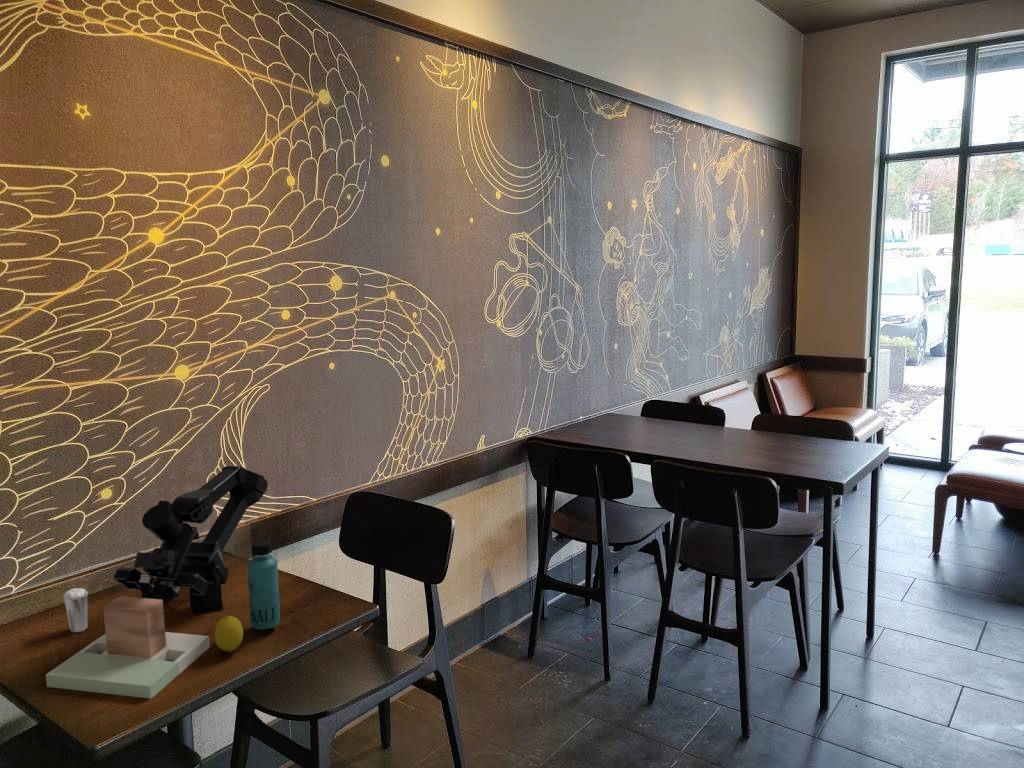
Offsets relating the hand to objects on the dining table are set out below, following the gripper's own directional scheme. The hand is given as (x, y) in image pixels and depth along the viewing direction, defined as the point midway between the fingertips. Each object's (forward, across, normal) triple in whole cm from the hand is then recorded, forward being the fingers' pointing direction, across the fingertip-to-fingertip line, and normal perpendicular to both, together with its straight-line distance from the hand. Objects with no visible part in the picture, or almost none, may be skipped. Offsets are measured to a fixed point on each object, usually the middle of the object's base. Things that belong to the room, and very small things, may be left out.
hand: (144, 621), depth 153 cm
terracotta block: (+5, 0, +2) cm, 6 cm away
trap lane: (+8, 0, +2) cm, 9 cm away
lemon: (+2, +16, +8) cm, 18 cm away
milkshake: (0, -21, +10) cm, 24 cm away
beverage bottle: (-5, +19, +15) cm, 25 cm away
